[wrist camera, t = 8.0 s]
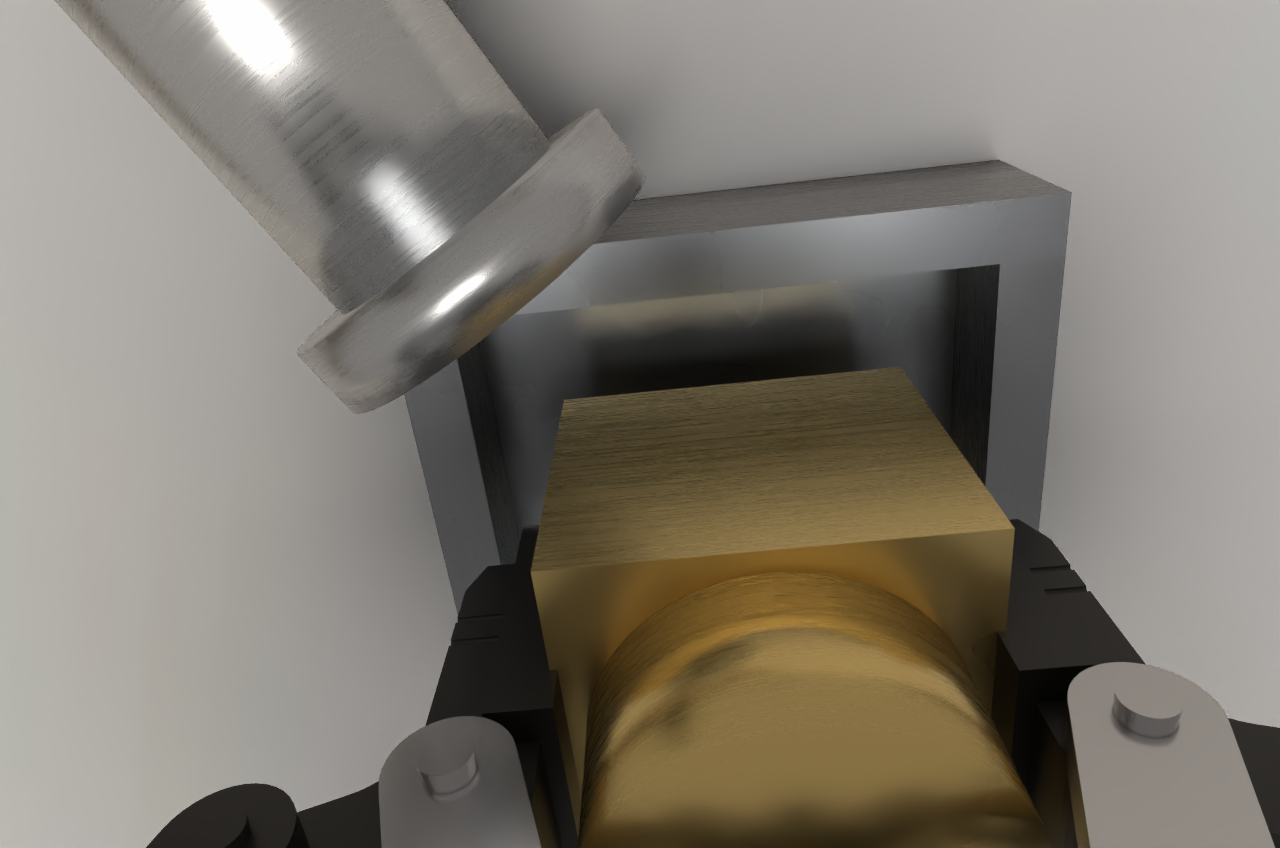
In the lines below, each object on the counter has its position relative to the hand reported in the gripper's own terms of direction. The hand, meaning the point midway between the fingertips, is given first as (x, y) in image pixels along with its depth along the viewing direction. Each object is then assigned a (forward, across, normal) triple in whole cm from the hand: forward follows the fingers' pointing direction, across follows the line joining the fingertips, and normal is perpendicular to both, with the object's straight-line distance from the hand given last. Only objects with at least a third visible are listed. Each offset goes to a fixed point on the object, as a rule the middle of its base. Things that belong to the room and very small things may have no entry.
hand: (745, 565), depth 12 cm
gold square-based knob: (+1, 0, 0) cm, 1 cm away
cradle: (+3, 0, 0) cm, 3 cm away
